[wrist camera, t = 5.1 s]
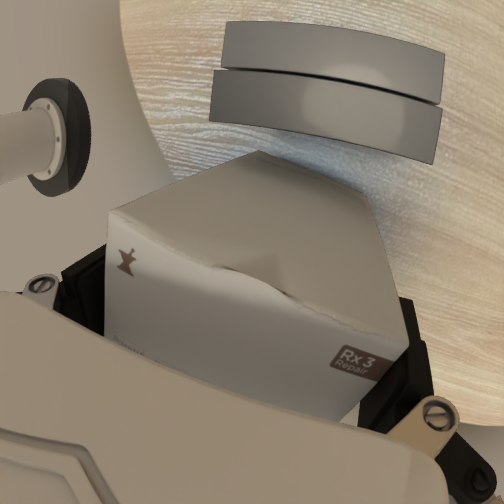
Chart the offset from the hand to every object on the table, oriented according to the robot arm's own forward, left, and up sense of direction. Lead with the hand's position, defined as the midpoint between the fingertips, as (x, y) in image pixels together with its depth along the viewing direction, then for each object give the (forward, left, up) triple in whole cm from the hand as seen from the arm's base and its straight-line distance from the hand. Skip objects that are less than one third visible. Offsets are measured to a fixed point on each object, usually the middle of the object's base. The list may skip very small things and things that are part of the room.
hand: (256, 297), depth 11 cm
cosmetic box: (-1, 0, -11) cm, 11 cm away
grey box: (+1, +8, -15) cm, 17 cm away
